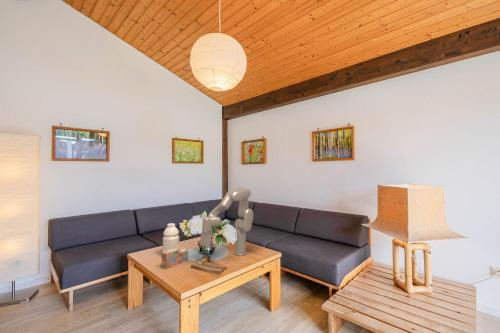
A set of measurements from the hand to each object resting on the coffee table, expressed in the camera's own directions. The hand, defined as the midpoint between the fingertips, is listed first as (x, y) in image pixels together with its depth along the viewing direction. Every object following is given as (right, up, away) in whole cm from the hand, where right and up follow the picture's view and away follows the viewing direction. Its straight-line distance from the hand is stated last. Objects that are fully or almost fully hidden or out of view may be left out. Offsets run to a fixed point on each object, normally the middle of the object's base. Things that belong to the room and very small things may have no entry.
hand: (205, 253), depth 194 cm
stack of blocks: (-25, -8, -2) cm, 26 cm away
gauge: (-1, -8, -3) cm, 9 cm away
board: (+4, -8, -10) cm, 14 cm away
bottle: (-34, -8, +16) cm, 39 cm away
